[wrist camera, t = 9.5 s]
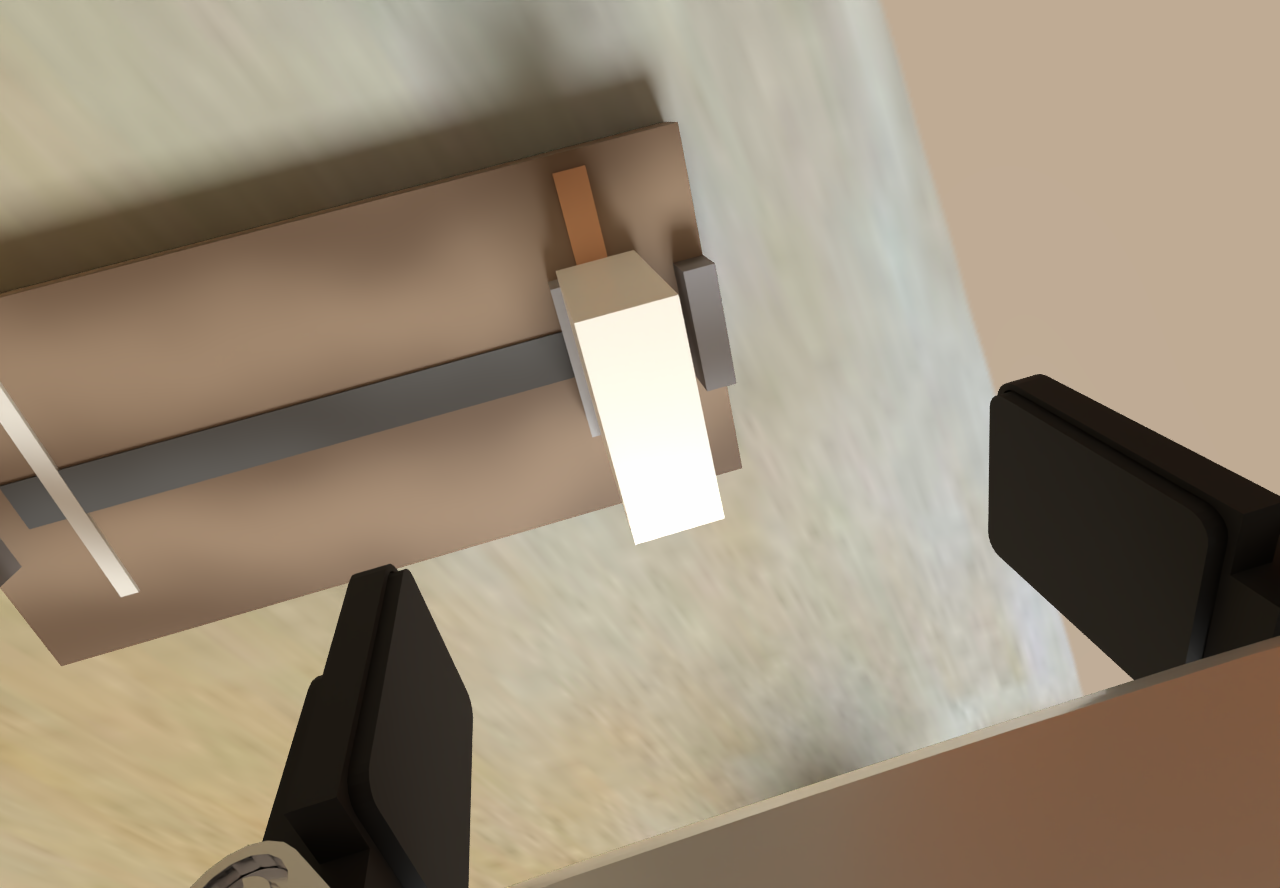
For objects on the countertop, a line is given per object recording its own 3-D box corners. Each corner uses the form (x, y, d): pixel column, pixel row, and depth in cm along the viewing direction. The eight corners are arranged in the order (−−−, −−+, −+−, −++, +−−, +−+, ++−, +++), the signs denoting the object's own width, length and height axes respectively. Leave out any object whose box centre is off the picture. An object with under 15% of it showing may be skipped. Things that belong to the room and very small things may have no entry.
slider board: (-132, 327, 22) (-238, 363, 19) (664, 121, 23) (689, 122, 20) (90, 629, 27) (36, 697, 24) (727, 446, 28) (755, 486, 25)
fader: (543, 265, 22) (560, 326, 16) (636, 241, 22) (691, 291, 16) (592, 436, 25) (624, 547, 18) (675, 412, 25) (735, 515, 19)
